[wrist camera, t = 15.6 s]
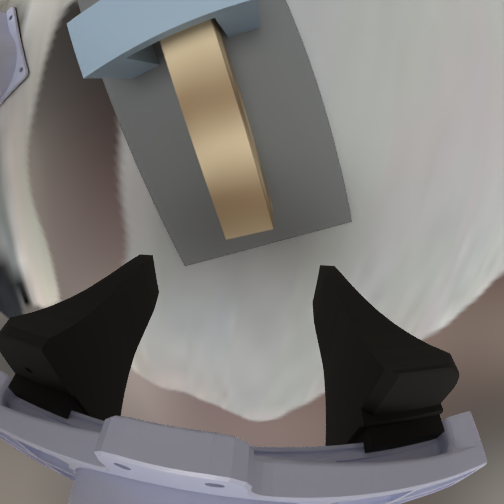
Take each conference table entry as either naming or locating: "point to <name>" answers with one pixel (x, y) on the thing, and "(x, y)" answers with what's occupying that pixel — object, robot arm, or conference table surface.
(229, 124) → the tan wooden bar
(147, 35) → the light blue u-channel
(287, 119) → the mat
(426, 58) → the conference table surface
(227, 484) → the robot arm
